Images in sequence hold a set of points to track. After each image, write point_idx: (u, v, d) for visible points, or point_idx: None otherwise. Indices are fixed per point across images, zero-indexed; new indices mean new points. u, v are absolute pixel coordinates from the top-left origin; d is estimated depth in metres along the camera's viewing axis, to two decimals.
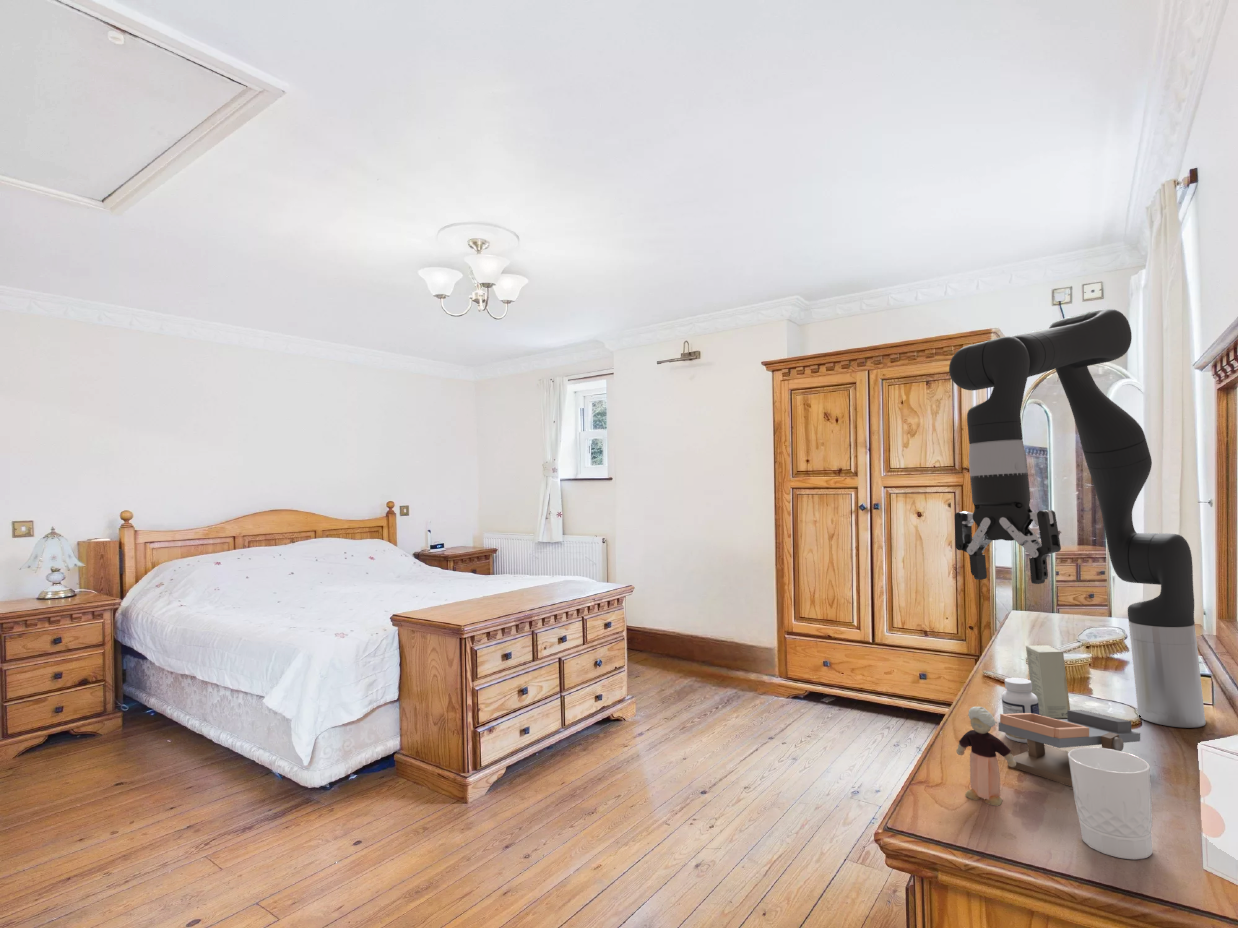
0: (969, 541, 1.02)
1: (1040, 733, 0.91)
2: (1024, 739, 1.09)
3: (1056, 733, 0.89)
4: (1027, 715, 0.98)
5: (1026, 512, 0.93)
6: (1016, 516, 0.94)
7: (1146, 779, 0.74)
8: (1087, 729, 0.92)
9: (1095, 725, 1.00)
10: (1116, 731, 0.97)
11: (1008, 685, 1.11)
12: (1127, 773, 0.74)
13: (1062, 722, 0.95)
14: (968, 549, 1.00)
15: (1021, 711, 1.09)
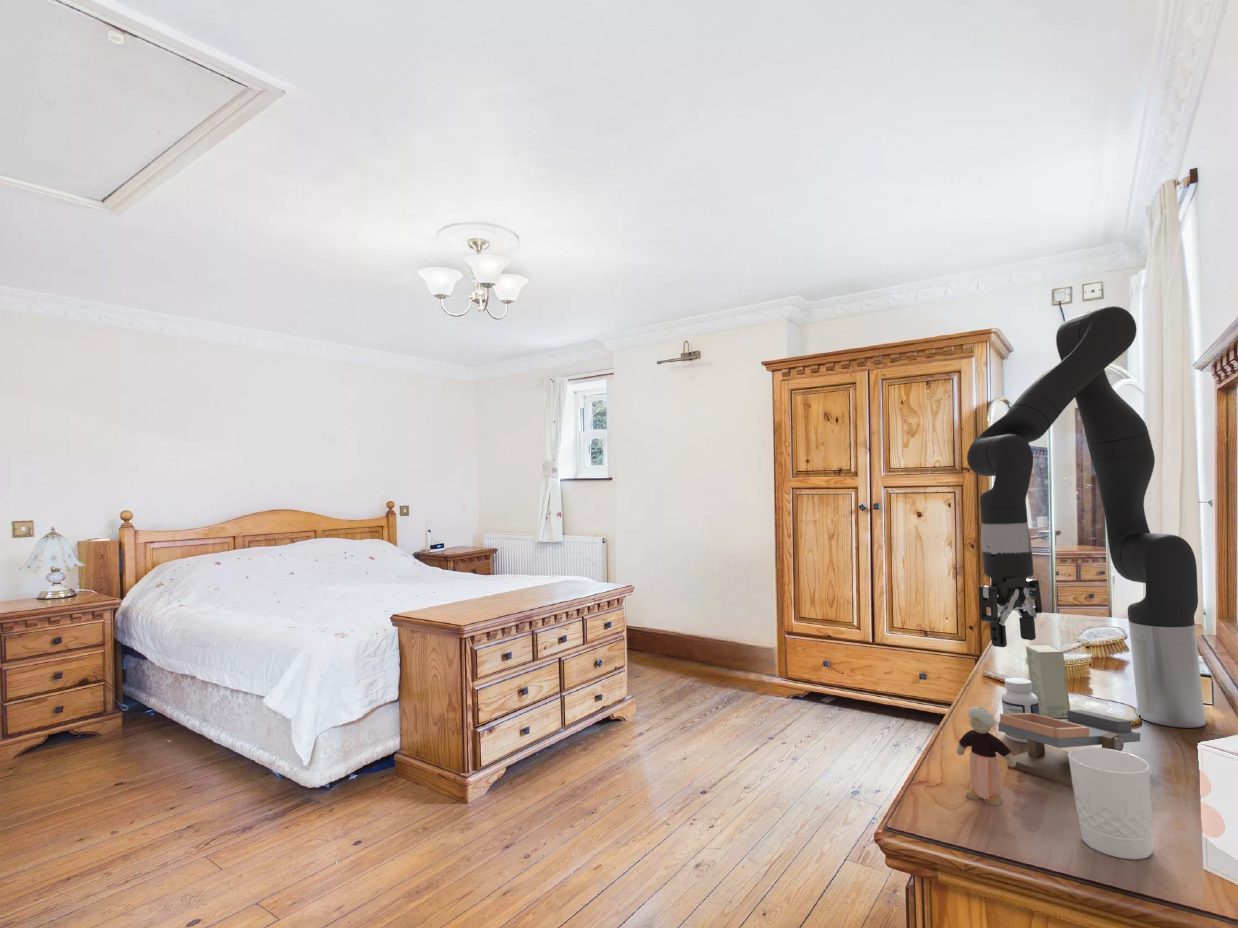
0: (986, 613, 1.10)
1: (1040, 733, 0.91)
2: (1024, 739, 1.09)
3: (1056, 733, 0.89)
4: (1027, 715, 0.98)
5: (1026, 581, 1.14)
6: (1025, 585, 1.13)
7: (1146, 779, 0.74)
8: (1087, 729, 0.92)
9: (1095, 725, 1.00)
10: (1116, 731, 0.97)
11: (1008, 685, 1.11)
12: (1127, 773, 0.74)
13: (1062, 722, 0.95)
14: (1001, 620, 1.09)
15: (1021, 711, 1.09)
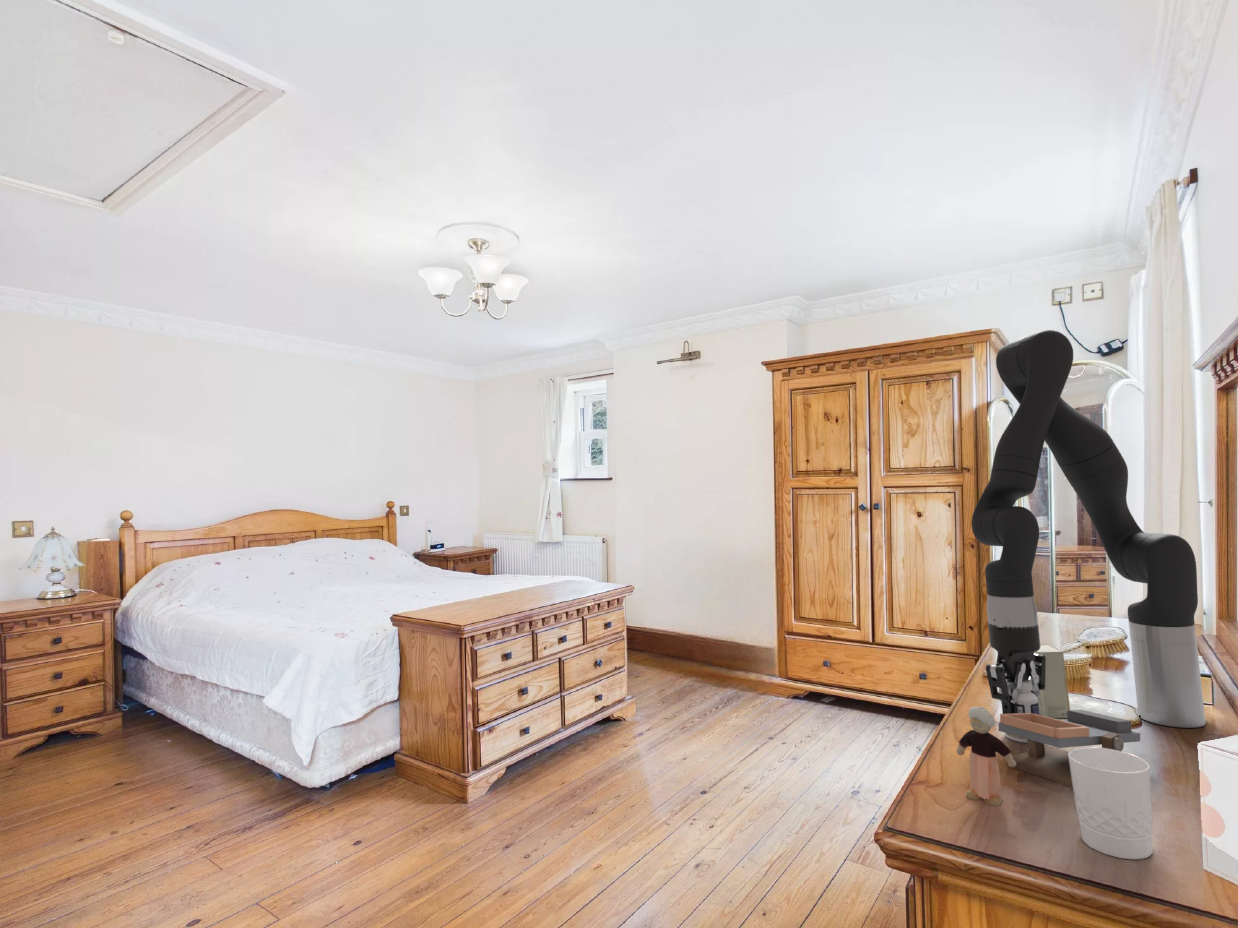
0: None
1: (1040, 733, 0.91)
2: (1024, 739, 1.09)
3: (1056, 733, 0.89)
4: (1027, 715, 0.98)
5: (1033, 654, 1.13)
6: (1031, 657, 1.12)
7: (1146, 779, 0.74)
8: (1087, 729, 0.92)
9: (1095, 725, 1.00)
10: (1116, 731, 0.97)
11: None
12: (1127, 773, 0.74)
13: (1062, 722, 0.95)
14: (1013, 698, 1.09)
15: (1021, 711, 1.09)
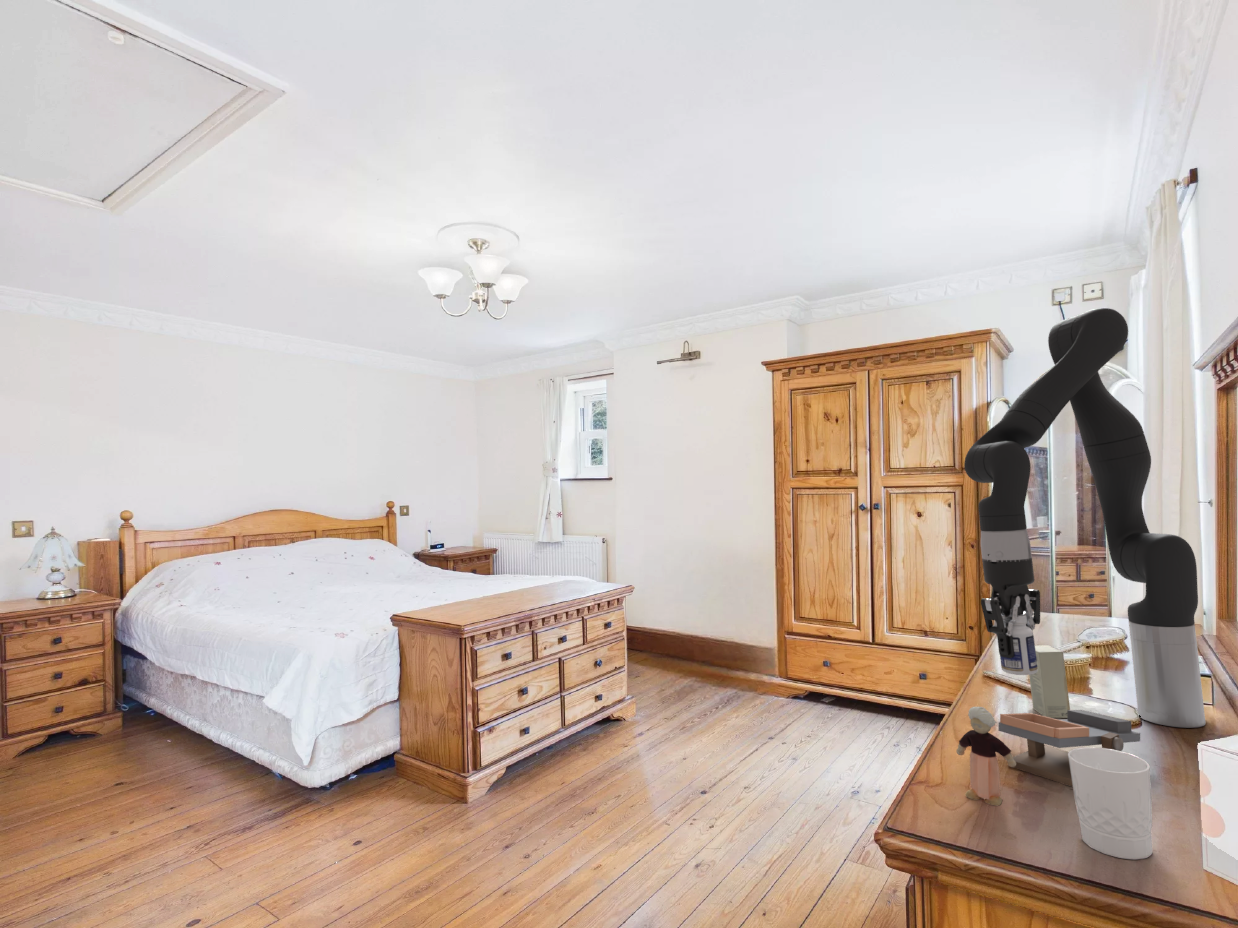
0: (992, 624, 1.11)
1: (1040, 733, 0.91)
2: (1020, 671, 1.09)
3: (1056, 733, 0.89)
4: (1027, 715, 0.98)
5: (1028, 589, 1.14)
6: (1026, 591, 1.13)
7: (1146, 779, 0.74)
8: (1087, 729, 0.92)
9: (1095, 725, 1.00)
10: (1116, 731, 0.97)
11: None
12: (1127, 773, 0.74)
13: (1062, 722, 0.95)
14: (1009, 631, 1.09)
15: (1016, 644, 1.10)
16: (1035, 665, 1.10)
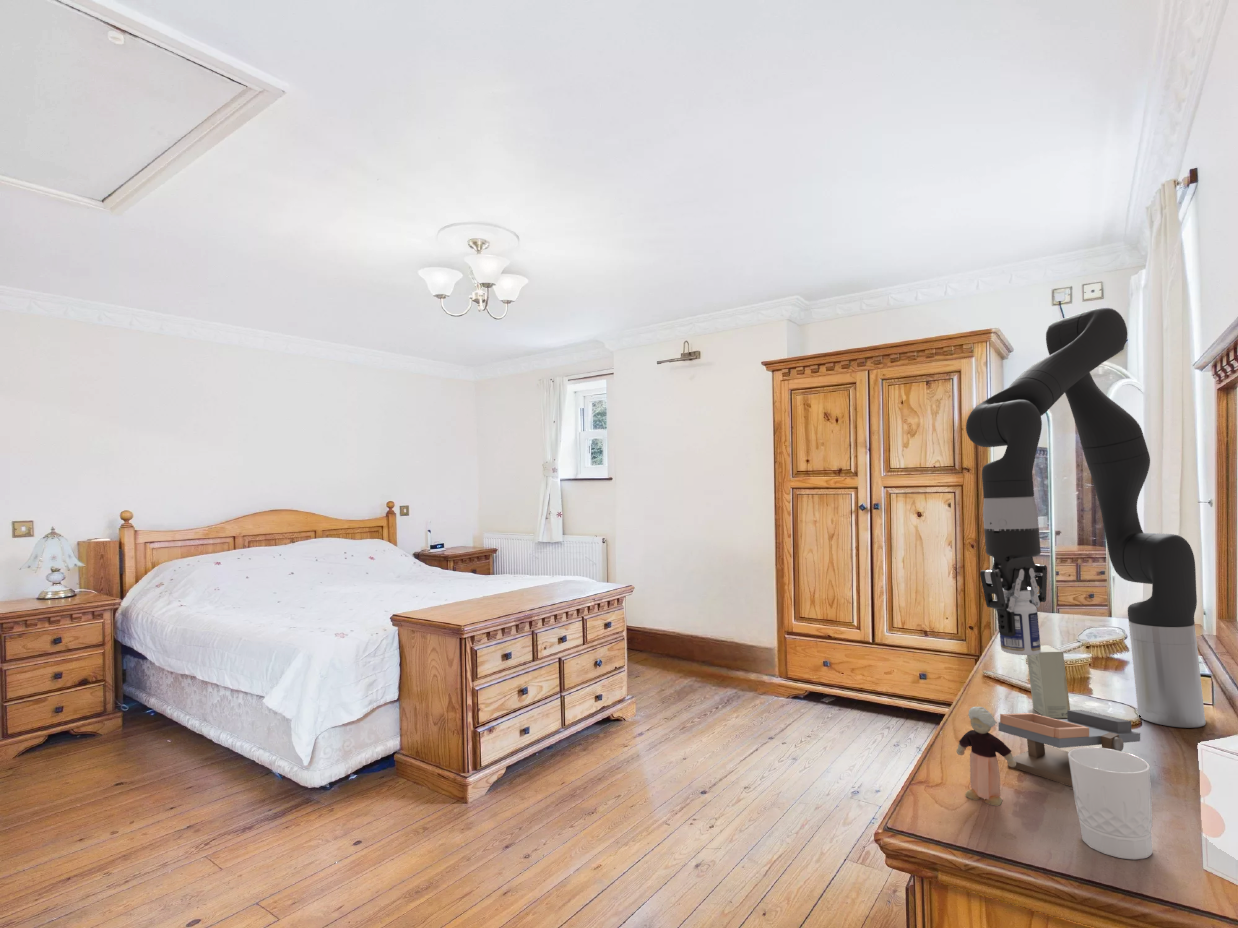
0: (992, 598, 1.01)
1: (1040, 733, 0.91)
2: (1021, 651, 1.00)
3: (1056, 733, 0.89)
4: (1027, 715, 0.98)
5: None
6: (1031, 565, 1.03)
7: (1146, 779, 0.74)
8: (1087, 729, 0.92)
9: (1095, 725, 1.00)
10: (1116, 731, 0.97)
11: None
12: (1127, 773, 0.74)
13: (1062, 722, 0.95)
14: (1010, 606, 1.00)
15: (1018, 621, 1.00)
16: (1038, 645, 1.00)
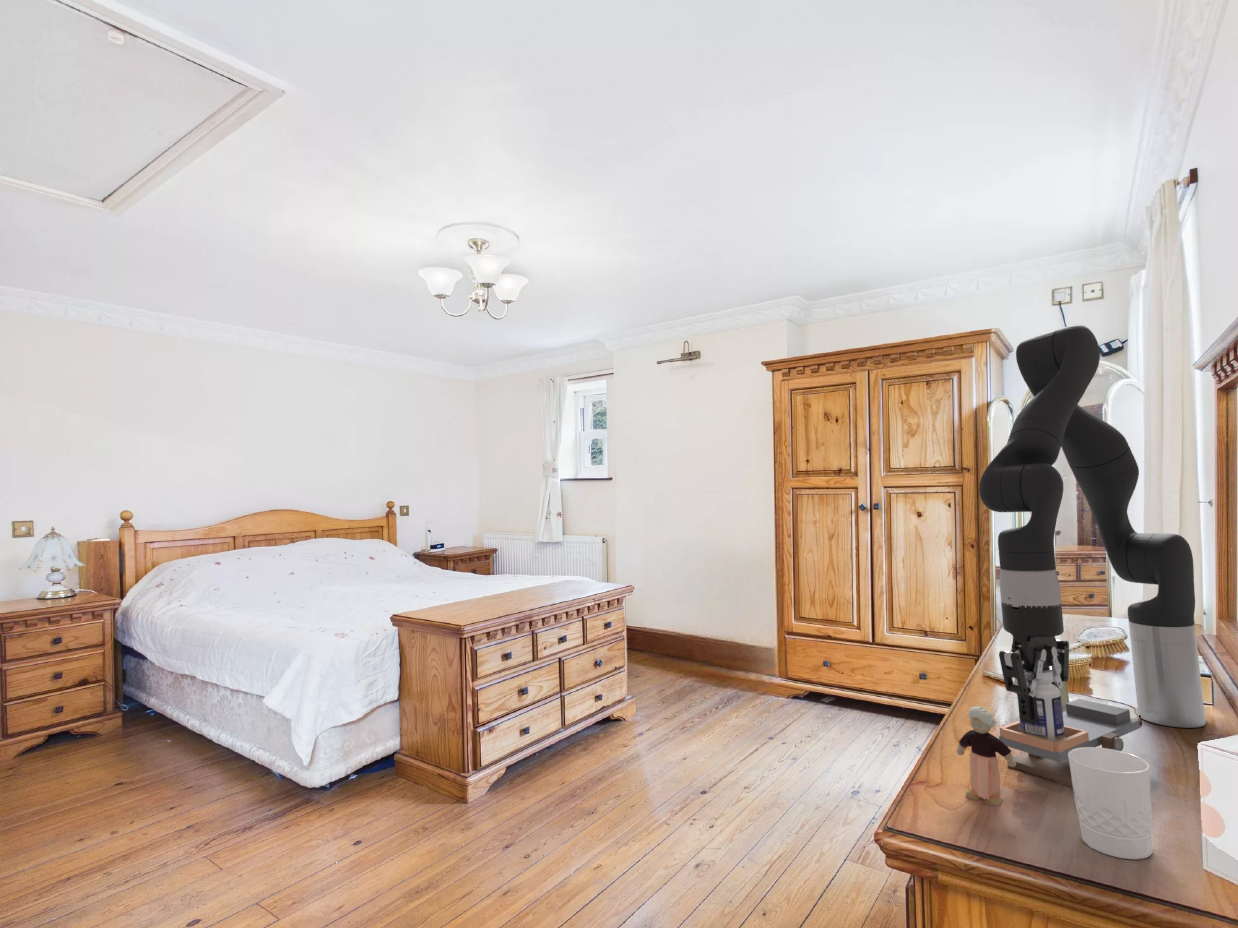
0: (1012, 681, 0.93)
1: (1040, 747, 0.90)
2: None
3: (1056, 747, 0.89)
4: None
5: None
6: (1052, 643, 0.95)
7: (1146, 779, 0.74)
8: (1086, 734, 0.92)
9: (1094, 718, 1.00)
10: (1115, 724, 0.97)
11: None
12: (1127, 773, 0.74)
13: None
14: (1032, 691, 0.91)
15: (1040, 706, 0.92)
16: (1062, 732, 0.92)
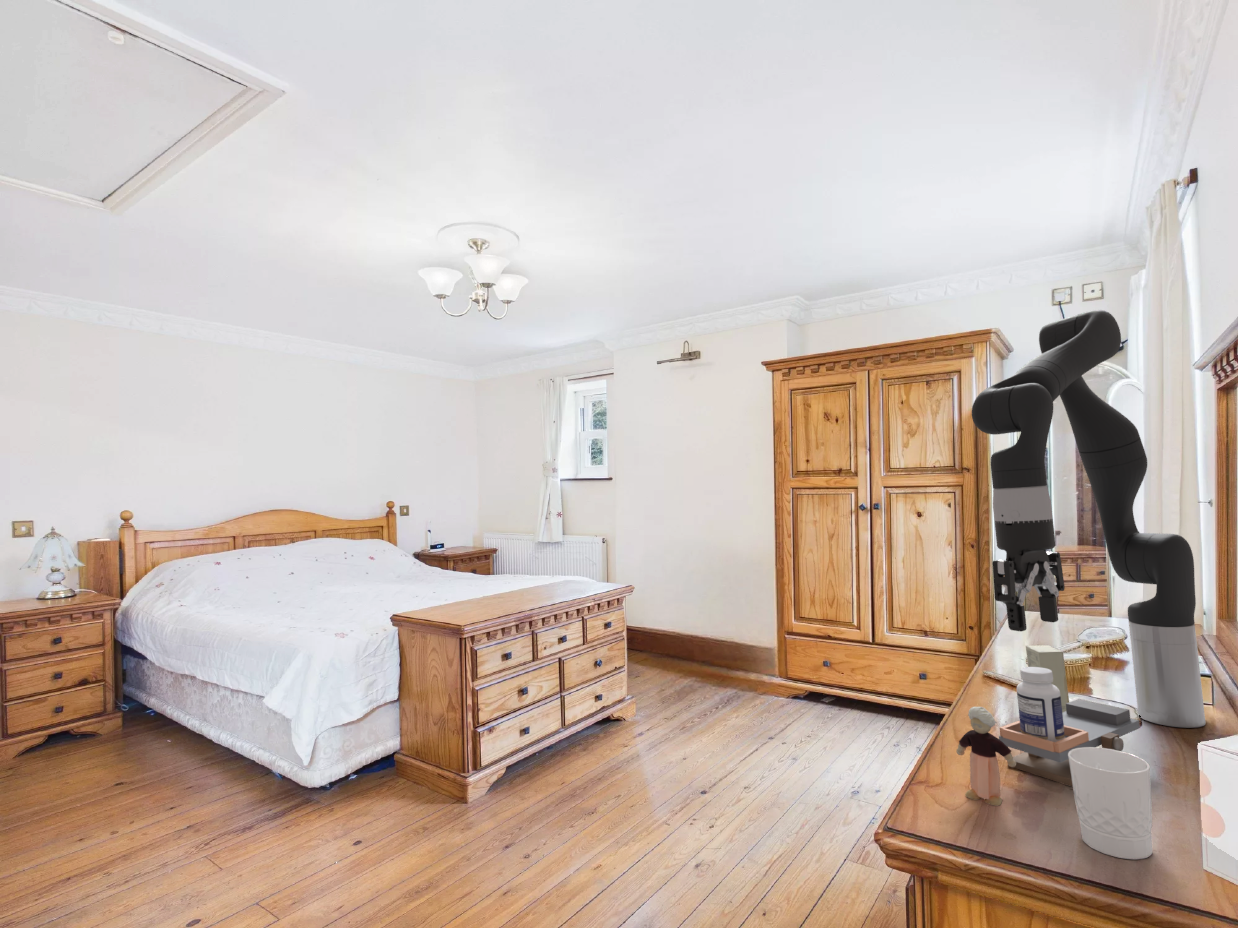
0: (1001, 592, 0.95)
1: (1040, 747, 0.90)
2: None
3: (1056, 747, 0.89)
4: None
5: (1046, 555, 0.98)
6: (1045, 559, 0.97)
7: (1146, 779, 0.74)
8: (1086, 734, 0.92)
9: (1094, 718, 1.00)
10: (1115, 724, 0.97)
11: (1024, 675, 0.94)
12: (1127, 773, 0.74)
13: None
14: (1020, 600, 0.93)
15: (1040, 706, 0.92)
16: (1062, 732, 0.92)
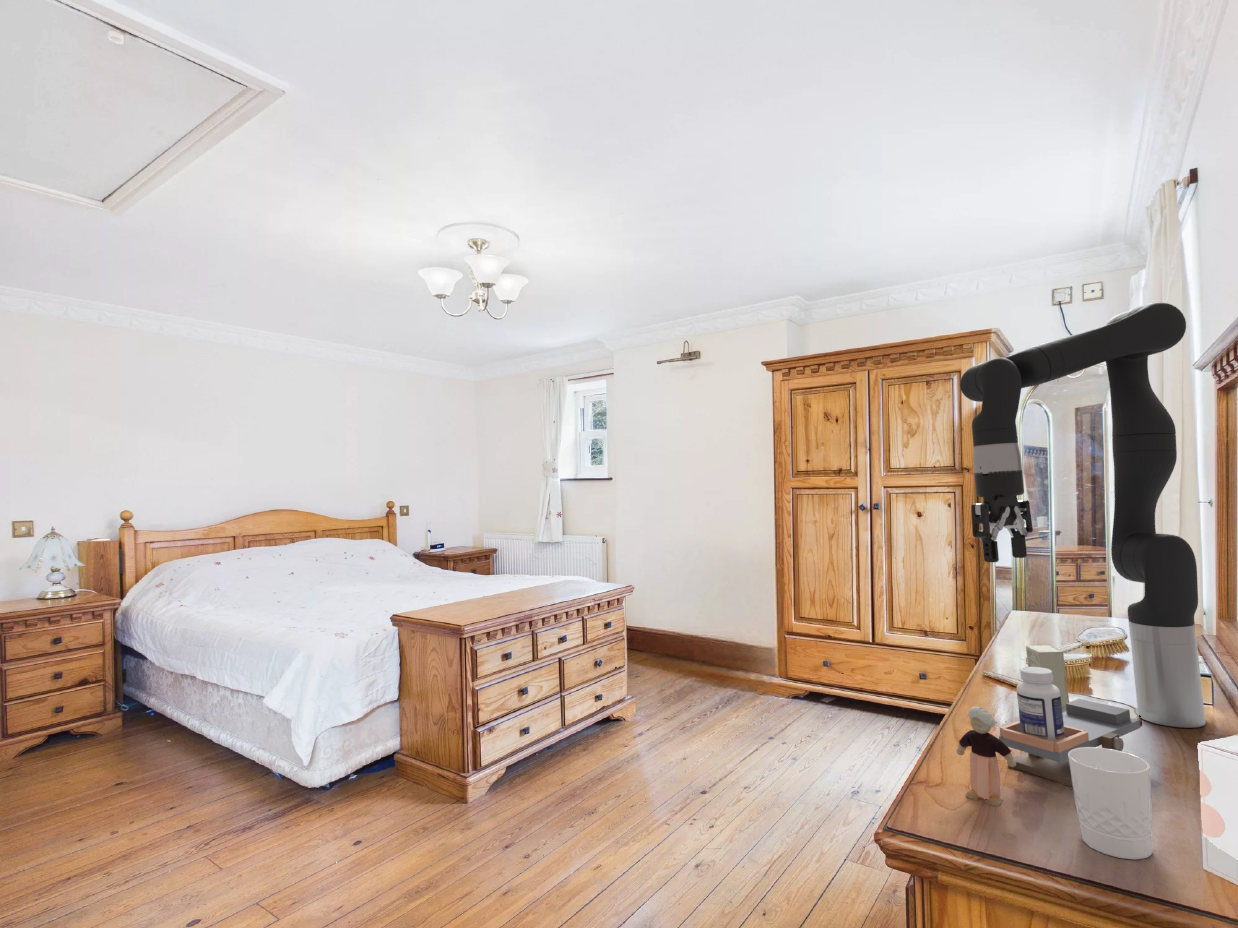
0: (978, 530, 1.14)
1: (1040, 747, 0.90)
2: None
3: (1056, 747, 0.89)
4: None
5: (1017, 502, 1.18)
6: (1016, 505, 1.17)
7: (1146, 779, 0.74)
8: (1086, 734, 0.92)
9: (1094, 718, 1.00)
10: (1115, 724, 0.97)
11: (1024, 675, 0.94)
12: (1127, 773, 0.74)
13: None
14: (993, 536, 1.13)
15: (1040, 706, 0.92)
16: (1062, 732, 0.92)
